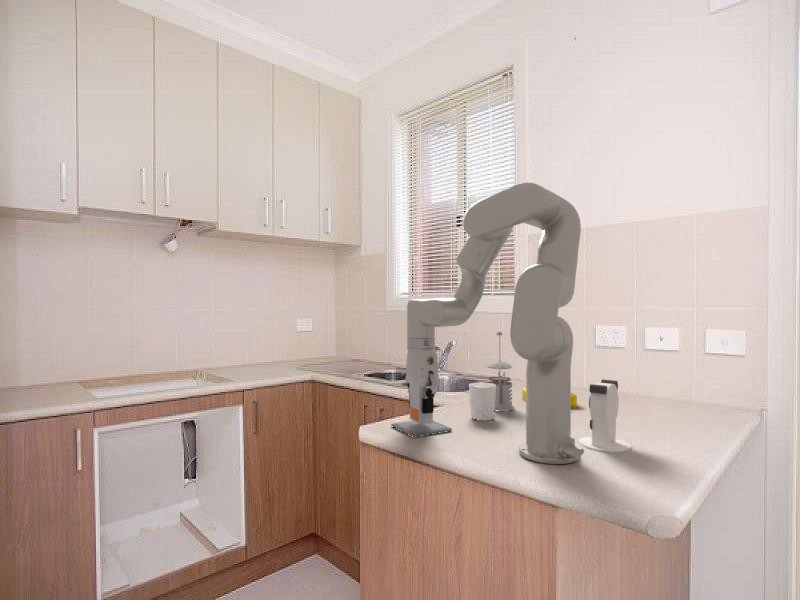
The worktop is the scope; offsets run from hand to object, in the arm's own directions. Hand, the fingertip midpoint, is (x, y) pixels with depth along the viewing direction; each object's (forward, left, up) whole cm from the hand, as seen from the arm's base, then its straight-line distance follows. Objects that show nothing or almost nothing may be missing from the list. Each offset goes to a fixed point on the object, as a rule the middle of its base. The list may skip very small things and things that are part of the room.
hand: (421, 409), depth 123 cm
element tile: (+6, -55, -6) cm, 56 cm away
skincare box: (0, 0, -3) cm, 3 cm away
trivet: (0, 0, -5) cm, 5 cm away
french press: (+8, -35, -5) cm, 36 cm away
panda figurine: (-33, -32, -5) cm, 46 cm away
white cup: (+1, -22, -5) cm, 23 cm away
